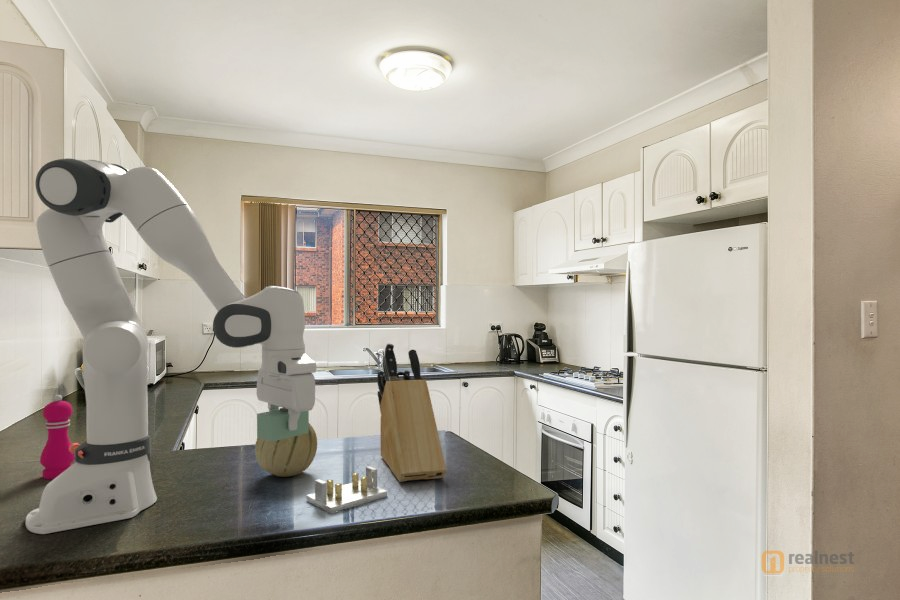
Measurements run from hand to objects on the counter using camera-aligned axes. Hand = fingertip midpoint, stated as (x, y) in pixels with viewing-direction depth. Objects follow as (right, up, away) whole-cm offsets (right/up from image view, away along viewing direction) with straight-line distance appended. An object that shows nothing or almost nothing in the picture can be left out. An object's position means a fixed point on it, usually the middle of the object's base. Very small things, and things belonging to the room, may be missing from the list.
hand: (283, 426), depth 116 cm
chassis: (+13, -16, +2) cm, 21 cm away
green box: (0, -2, 0) cm, 2 cm away
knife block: (+24, -16, +27) cm, 39 cm away
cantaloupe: (-5, -16, +18) cm, 25 cm away
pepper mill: (-62, -17, +19) cm, 67 cm away
